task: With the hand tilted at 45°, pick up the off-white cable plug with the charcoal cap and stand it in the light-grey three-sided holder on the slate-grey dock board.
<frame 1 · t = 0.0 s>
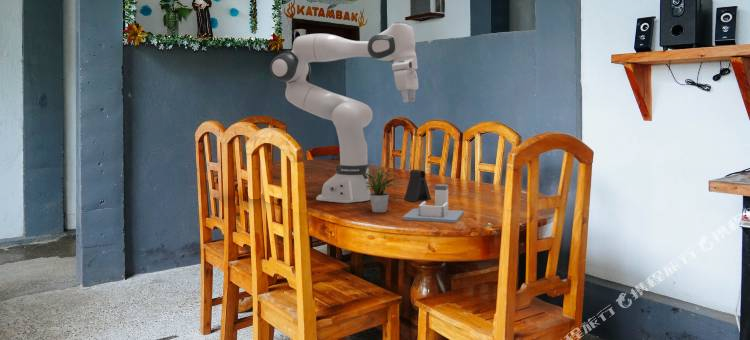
hand: (409, 102, 217), 39 cm above the table, tool pointing down, fingers open, 8 cm apart
dock board: (433, 216, 194), on the table
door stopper: (417, 200, 226), on the table
cable plug: (441, 209, 207), on the table
house plant: (378, 212, 204), on the table
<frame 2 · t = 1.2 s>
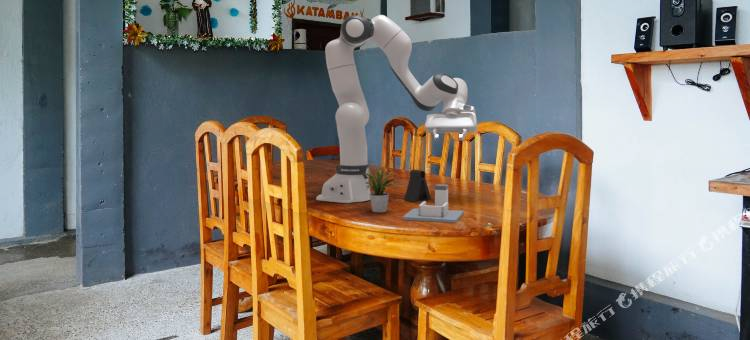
hand: (448, 139, 215), 25 cm above the table, tool tilted 45°, fingers open, 8 cm apart
nothing on the table moved.
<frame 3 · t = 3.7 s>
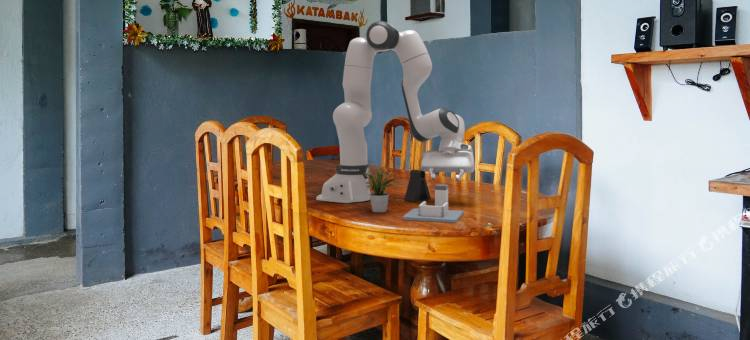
hand: (445, 179, 211), 10 cm above the table, tool tilted 45°, fingers open, 8 cm apart
nothing on the table moved.
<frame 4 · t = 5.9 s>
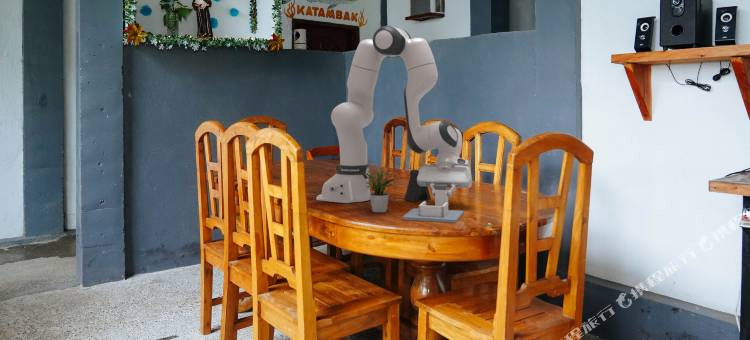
hand: (441, 195, 206), 5 cm above the table, tool tilted 45°, fingers closed on cable plug, 4 cm apart
cable plug: (441, 209, 207), on the table, touching gripper
everything else where it was.
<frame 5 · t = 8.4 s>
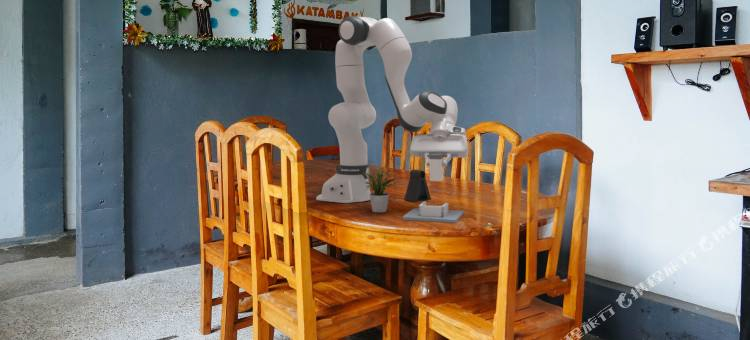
hand: (436, 165, 194), 18 cm above the table, tool tilted 45°, fingers closed on cable plug, 4 cm apart
cable plug: (436, 180, 195), point 12 cm above the table, touching gripper
everything else where it was.
when the fingers open (8 cm above the table, at t = 11.2 s): cable plug drops 1 cm, resting on dock board.
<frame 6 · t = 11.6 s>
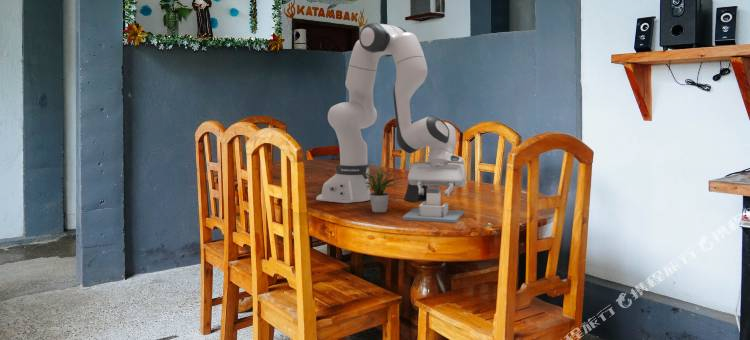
hand: (433, 194, 193), 8 cm above the table, tool tilted 45°, fingers open, 8 cm apart
cable plug: (433, 213, 194), point 1 cm above the table, touching dock board
everything else where it was.
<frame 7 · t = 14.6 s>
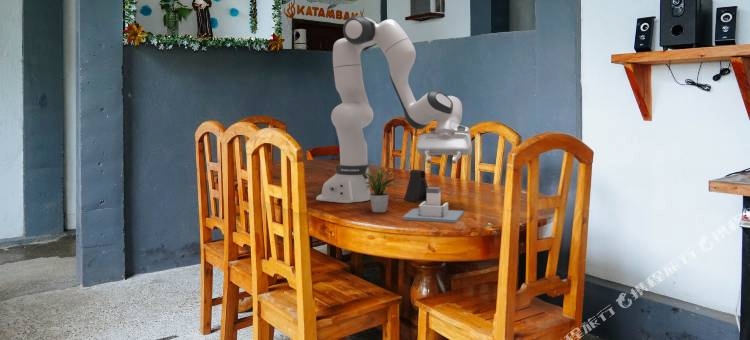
hand: (441, 162, 204), 17 cm above the table, tool tilted 45°, fingers open, 8 cm apart
nothing on the table moved.
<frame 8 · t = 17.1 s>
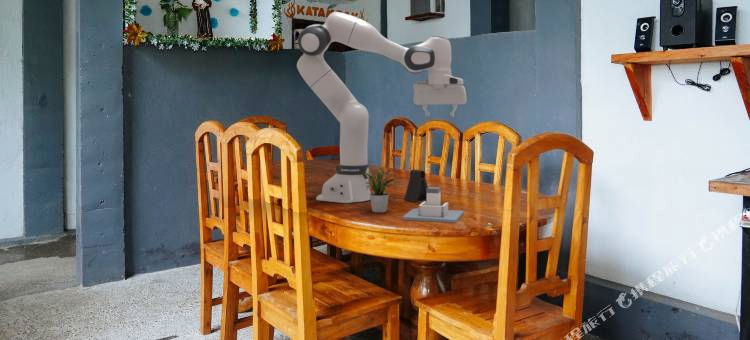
hand: (439, 116, 218), 33 cm above the table, tool pointing down, fingers open, 8 cm apart
nothing on the table moved.
at the end: cable plug 0.1 cm off-centre on the dock board, point 1.0 cm above the dock board's base; cable plug tilted 0°; the gripper is holding nothing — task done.
